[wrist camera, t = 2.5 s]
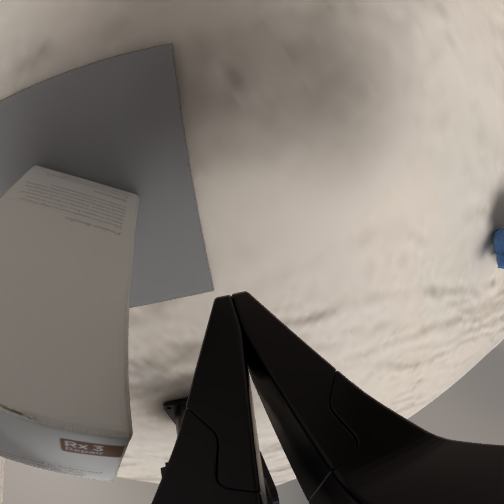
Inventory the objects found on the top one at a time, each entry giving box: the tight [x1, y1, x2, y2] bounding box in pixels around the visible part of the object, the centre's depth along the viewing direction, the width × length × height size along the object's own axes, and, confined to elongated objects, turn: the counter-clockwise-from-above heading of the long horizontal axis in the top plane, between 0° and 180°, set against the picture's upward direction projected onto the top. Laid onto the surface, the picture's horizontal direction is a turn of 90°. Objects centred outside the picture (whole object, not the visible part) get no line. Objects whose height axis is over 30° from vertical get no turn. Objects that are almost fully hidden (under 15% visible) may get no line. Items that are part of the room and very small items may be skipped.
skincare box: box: [0, 166, 139, 481], centre depth 9 cm, size 6×4×12 cm
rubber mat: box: [0, 44, 214, 308], centre depth 13 cm, size 14×22×1 cm, turn 95°
